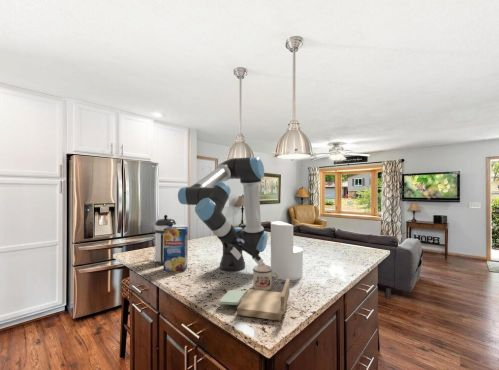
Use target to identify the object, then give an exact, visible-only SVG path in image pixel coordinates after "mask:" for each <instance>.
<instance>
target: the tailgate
mask: <svg viewBox="0 0 499 370" xmlns="http://www.w3.org/2000/svg"><path fill="white" fill-rule="evenodd" d="M246 294H247V291H245V290H233V289H231V290H227V291H226V293H225V294H224V295H223V296H222V297H221V299H219V301H218V304H219V305H228V306H230V305H231V306H239V304H240V303H241V301H242V300H243V298H244V297H245V295H246Z"/></svg>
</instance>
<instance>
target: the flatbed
mask: <svg viewBox="0 0 499 370" xmlns="http://www.w3.org/2000/svg"><path fill="white" fill-rule="evenodd" d="M289 297H290V280H289V279H286V280H285V283H284V285H283V288H282V291H281V292H280V291H270V290H266V291H262V290H256V289H254V288H253V289H252V288H249V289H248V291H246V294H245V295H244V297H243V298H242V300H241V301H240V303H239V304H238V305H237V307H236V315H238V316H242V317H243V318H248V317H250V318H251V317H253V318H259V319H267V320H269V321H271V322H275V321H278V322H279V321H281V320H282V318H283V315H285V312H286V308H287V304H288V302H289V301H288V300H289ZM281 322H282V321H281Z"/></svg>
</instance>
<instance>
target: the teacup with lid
mask: <svg viewBox="0 0 499 370" xmlns="http://www.w3.org/2000/svg"><path fill="white" fill-rule="evenodd" d="M252 272H253V274H252V275H253V276H252V277H253V284H252V286H253V290H262V291H270V290H271V289H272V286H273V285H272V284H273V283H275V282H277V280H278V274H277V273H276V272H272V268H271V265H270V266H269V265H267V264H265V262H264V261H263V263H262V265H261V266H259V265H258V264H257V265H255V266H254V267H252ZM273 273H274V274H276V275H277V277H276V278H275V279H273V280H272V278H273V276H272V274H273Z"/></svg>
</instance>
